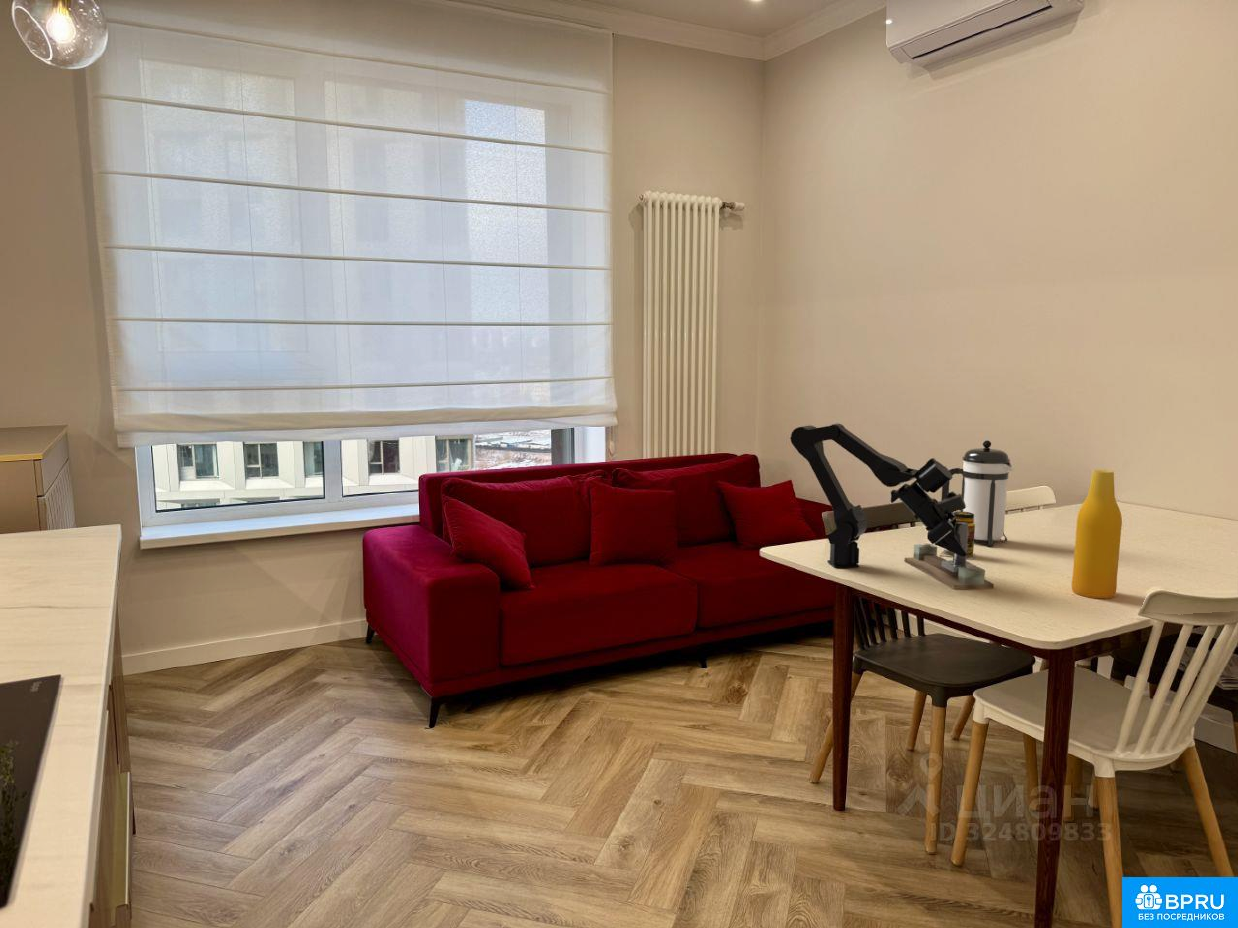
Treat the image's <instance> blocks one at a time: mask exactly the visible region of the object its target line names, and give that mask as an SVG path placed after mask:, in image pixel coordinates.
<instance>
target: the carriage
mask: <svg viewBox="0 0 1238 928" xmlns="http://www.w3.org/2000/svg"><path fill="white" fill-rule="evenodd" d="M955 537H956V538H957V540H958V541H959V543H960V544H961V546H962V547H963V549H964V550H965V552H966V553H967V538H968V523H964V522H956V523H955ZM945 560H946V561H942V567H944V568H946V569H948V570H950V571H952V572H959V567H967V566H975V567H978V566H977V565H976V564H974V563H972V562H969V561H968V560H967V559H966V556H965V557H962V556H960V555H958V554H956V553H953V557H952V560H951V559H949V560H947V559H945Z"/></svg>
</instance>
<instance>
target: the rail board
mask: <svg viewBox="0 0 1238 928" xmlns="http://www.w3.org/2000/svg"><path fill="white" fill-rule="evenodd" d="M946 560H947V559H945V558H943V557H942V556H938V546H936V545H935V544H932V543H924V542H923V543H920V544H914V545H913V557H904V560H903V561H904V563H906V564H909V565H911V566H912V567H914V568H916V569H918V570H919V571H920V572H922V573H925V574H926V575H928V576H930V577H931V578H933V579H935V580H937V581H939V582H941V583H942V584H944V585H945V586H947V587H949V588H951V589H953V590H973V589H975V590H976V589H978V590H980V589H983V590H984V589H994V588H995V583H993V582H990V581H989V580H986V579H985V577H986V570H985V569H983V568H981V567H979V566H977V567H975V566H967V567H959V572H952V571H950V570H948V569H946V568H944V567H942V561H946Z"/></svg>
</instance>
